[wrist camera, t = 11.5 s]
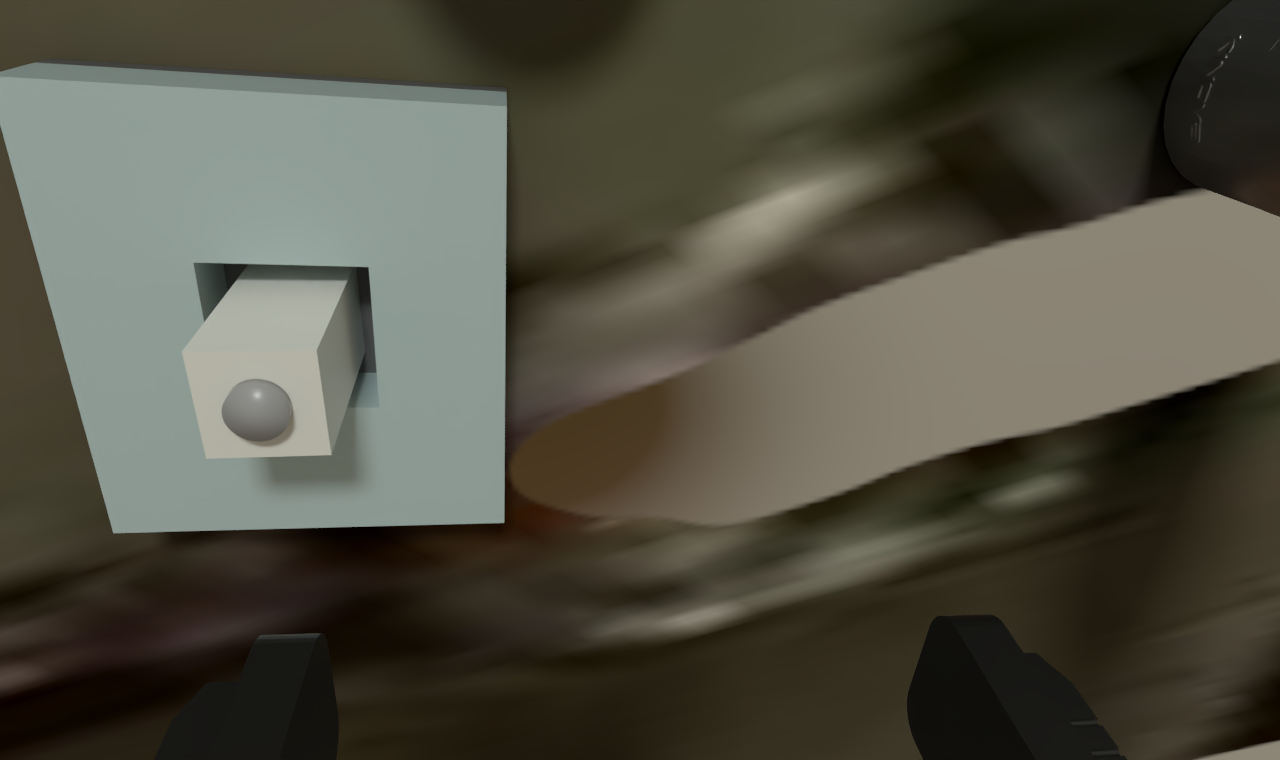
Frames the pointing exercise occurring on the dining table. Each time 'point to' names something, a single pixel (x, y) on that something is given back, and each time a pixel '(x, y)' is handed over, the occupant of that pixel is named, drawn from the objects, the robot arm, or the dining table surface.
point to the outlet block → (275, 235)
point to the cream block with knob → (277, 362)
